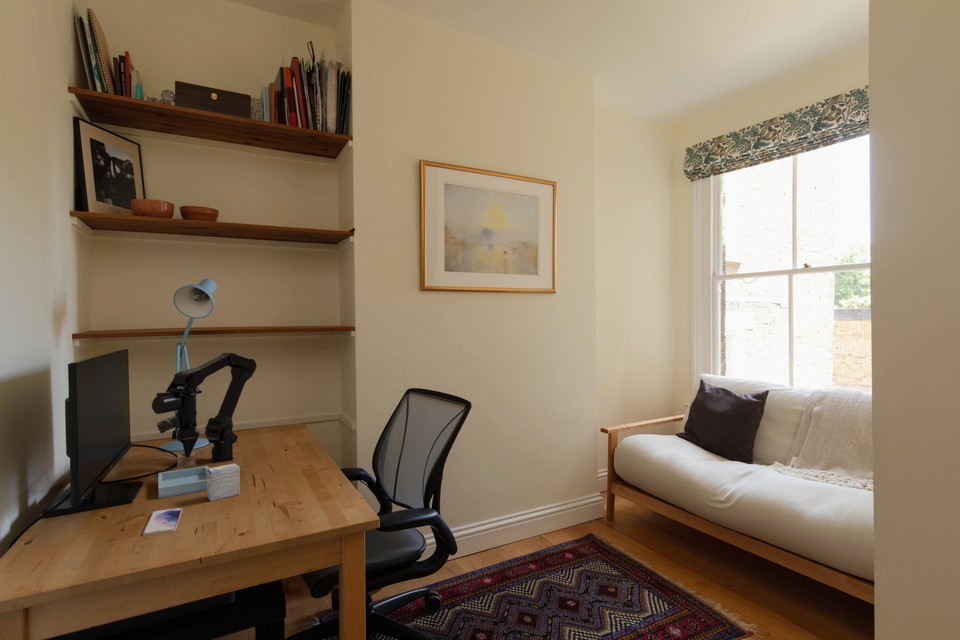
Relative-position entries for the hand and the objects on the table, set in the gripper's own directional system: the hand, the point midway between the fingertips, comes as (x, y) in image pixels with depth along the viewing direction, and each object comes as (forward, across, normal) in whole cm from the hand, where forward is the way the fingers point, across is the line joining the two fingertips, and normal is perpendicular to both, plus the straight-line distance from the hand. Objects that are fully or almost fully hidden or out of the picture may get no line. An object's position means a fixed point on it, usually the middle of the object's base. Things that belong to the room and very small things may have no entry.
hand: (186, 453), depth 163 cm
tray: (+6, +15, -1) cm, 16 cm away
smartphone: (+7, +42, -7) cm, 43 cm away
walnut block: (+6, 0, 0) cm, 6 cm away
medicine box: (+6, +31, +8) cm, 33 cm away
